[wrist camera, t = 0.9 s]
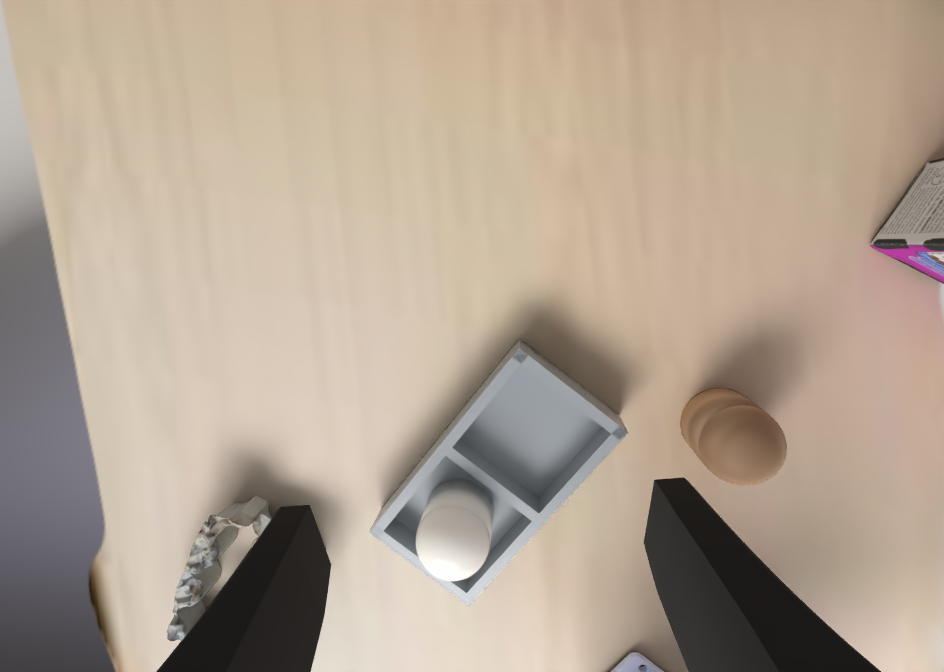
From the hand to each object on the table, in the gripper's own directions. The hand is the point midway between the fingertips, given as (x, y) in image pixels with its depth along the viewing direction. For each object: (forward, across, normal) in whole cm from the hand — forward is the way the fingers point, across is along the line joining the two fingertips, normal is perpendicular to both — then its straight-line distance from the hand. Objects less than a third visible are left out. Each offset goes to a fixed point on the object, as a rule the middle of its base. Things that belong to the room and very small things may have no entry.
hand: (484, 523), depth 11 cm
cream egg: (+13, +2, +16) cm, 20 cm away
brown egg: (+14, -13, +11) cm, 22 cm away
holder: (+14, -1, +13) cm, 20 cm away
